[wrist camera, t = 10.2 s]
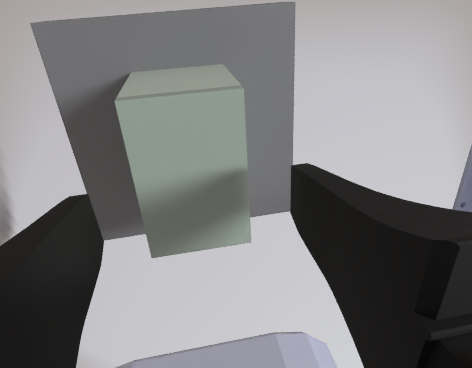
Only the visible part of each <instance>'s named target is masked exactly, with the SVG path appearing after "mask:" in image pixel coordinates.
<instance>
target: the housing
mask: <svg viewBox="0 0 472 368" xmlns="http://www.w3.org/2000/svg"><path fill="white" fill-rule="evenodd" d="M115 106H116V110H117V114H118V118H119V122H120V127H121V131H122V135H123V139H124V143H125V148H126V152H127V156H128V160H129V164H130V169H131V173H132V177H133V181H134V185H135V190H136V194H137V198H138V202H139V206H140V211H141V215H142V219H143V223H144V227H145V232H146V235H147V240H148V244H149V248H150V253H151V257H152V258H156V257H162V256H167V255H174V254H181V253H187V252H193V251H200V250H206V249H212V248H219V247H225V246H231V245H237V244H244V243H250V242H251V230H250V208H249V187H248V165H247V144H246V122H245V101H244V88H243V87H242V85H241V84H240V83H239V82H238V81H237V80H236V79H235V77H234V76H233V75H232V74H231V73H230V72H229V71H228V69H227V68H226V67H225V66H224V65H223V64H219V65H208V66H197V67H186V68H175V69H164V70H153V71H142V72H131V73H130V75H129V77H128V79H127V80H126V82H125V84H124V86H123V87H122V89H121V91H120V92H119V94H118V96H117V98H116V99H115Z"/></svg>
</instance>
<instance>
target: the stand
mask: <svg viewBox="0 0 472 368" xmlns="http://www.w3.org/2000/svg"><path fill="white" fill-rule="evenodd" d="M31 27H32V30H33V33H34V36H35V39H36V42H37V45H38V48H39V51H40V54H41V57H42V60H43V63H44V66H45V69H46V72H47V75H48V78H49V81H50V84H51V87H52V90H53V93H54V96H55V99H56V102H57V105H58V108H59V111H60V114H61V117H62V120H63V123H64V125H65V128H66V132H67V135H68V138H69V140H70V144H71V147H72V149H73V153H74V156H75V158H76V162H77V165H78V167H79V170H80V173H81V176H82V179H83V183H84V186H85V188H86V191H87V194H88V195H89V198H90V201H91V204H92V207H93V210H94V213H95V216H96V219H97V222H98V225H99V228H100V231H101V234H102V237H103V240H110V239H115V238H122V237H129V236H135V235H141V234H146V232H145V227H144V223H143V219H142V215H141V211H140V206H139V202H138V198H137V194H136V190H135V185H134V181H133V177H132V173H131V169H130V164H129V160H128V156H127V152H126V148H125V143H124V139H123V135H122V131H121V127H120V122H119V118H118V114H117V110H116V106H115V99H116V98H117V96H118V94H119V92H120V91H121V89H122V87H123V86H124V84H125V82H126V80H127V79H128V77H129V75H130V73H131V72H142V71H153V70H164V69H175V68H186V67H197V66H208V65H219V64H223V65H224V66H225V67H226V68H227V69H228V71H229V72H230V73H231V74H232V75H233V76H234V77H235V79H236V80H237V81H238V82H239V83H240V84H241V85H242V87H243V88H244V101H245V122H246V144H247V165H248V187H249V208H250V217H255V216H262V215H268V214H274V213H280V212H287V211H290V200H291V165H293V112H294V111H293V110H294V50H295V47H294V46H295V44H294V43H295V2H279V3H267V4H254V5H242V6H229V7H216V8H204V9H193V10H180V11H167V12H155V13H143V14H130V15H118V16H105V17H93V18H80V19H69V20H56V21H44V22H37V23H31Z"/></svg>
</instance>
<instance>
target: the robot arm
mask: <svg viewBox="0 0 472 368" xmlns="http://www.w3.org/2000/svg"><path fill="white" fill-rule="evenodd" d="M290 212H291V215H292V218H293V220H294V223H295V225H296V228H297V230H298V232H299V234H300V236H301V238H302V240H303V241H304V243H305V245H306V246H307V248H308V250H309V252H310V253H311V255H312V257H313V258H314V260H315V261H316V263H317V265H318V267H319V268H320V270H321V271H322V273H323V275H324V277H325V278H326V280H327V282H328V284H329V286H330V288H331V290H332V292H333V294H334V296H335V299H336V301H337V303H338V305H339V307H340V310H341V312H342V314H343V317H344V319H345V321H346V324H347V326H348V329H349V331H350V333H351V336H352V338H353V340H354V343H355V346H356V348H357V351H358V353H359V356H360V358H361V361H362V363H363V366H364V368H472V146H471V149H470V152H469V156H468V160H467V163H466V166H465V169H464V173H463V176H462V179H461V183H460V186H459V189H458V193H457V196H456V199H455V203H454V206H453V209H452V210H451V209H445V208H440V207H434V206H430V205H425V204H420V203H415V202H411V201H407V200H403V199H400V198H396V197H392V196H389V195H386V194H382V193H379V192H376V191H373V190H371V189H368V188H366V187H363V186H360V185H358V184H355V183H353V182H350V181H348V180H346V179H343V178H341V177H339V176H337V175H334V174H332V173H330V172H328V171H325V170H323V169H321V168H318V167H316V166H314V165H311V164H308V163H306V164H298V165H291V200H290ZM103 245H104V240H103V237H102V234H101V231H100V228H99V225H98V222H97V219H96V216H95V213H94V210H93V207H92V204H91V201H90V198H89V195H88V194H85V195H78V196H70V197H68V198H66V199H65V200H63V201H62V202H60V203H59V204H57V205H56V206H55V207H53V208H52V209H51V210H49V211H48V212H47V213H45V214H44V215H43V216H41V217H40V218H39V219H37V220H36V221H35V222H34V223H32V224H31V225H30V226H28V227H27V228H26V229H24V230H23V231H21V232H20V233H18V234H17V235H16V236H14V237H13V238H11V239H10V240H8V241H7V242H6V243H4V244H3V245H1V246H0V368H76V363H77V357H78V351H79V345H80V340H81V334H82V330H83V326H84V322H85V319H86V315H87V312H88V309H89V305H90V302H91V298H92V295H93V292H94V288H95V285H96V281H97V278H98V274H99V271H100V267H101V261H102V253H103ZM117 368H337V366H336V364H335V362H334V360H333V357H332V356H331V353H330V351H329V349H328V346H327V344H326V343H324V342H322V341H320V340H318V339H316V338H314V337H312V336H310V335H308V334H306V333H302V332H286V333H285V332H282V333H269V334H265V335H259V336H254V337H249V338H244V339H239V340H234V341H230V342H224V343H219V344H215V345H209V346H205V347H200V348H195V349H189V350H184V351H179V352H174V353H170V354H164V355H159V356H154V357H149V358H144V359H139V360H135V361H132V362H130V363H127V364H124V365H122V366H119V367H117Z"/></svg>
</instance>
